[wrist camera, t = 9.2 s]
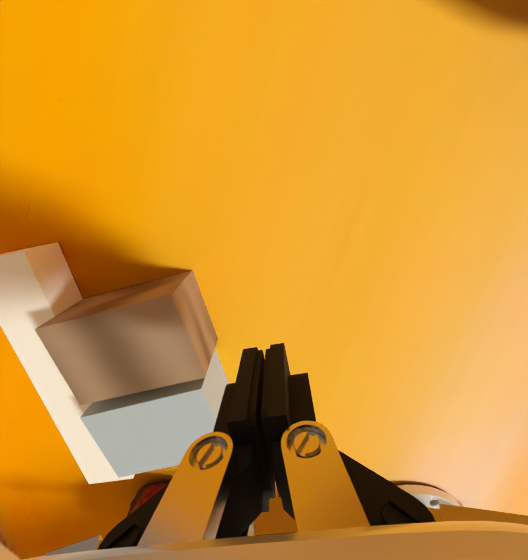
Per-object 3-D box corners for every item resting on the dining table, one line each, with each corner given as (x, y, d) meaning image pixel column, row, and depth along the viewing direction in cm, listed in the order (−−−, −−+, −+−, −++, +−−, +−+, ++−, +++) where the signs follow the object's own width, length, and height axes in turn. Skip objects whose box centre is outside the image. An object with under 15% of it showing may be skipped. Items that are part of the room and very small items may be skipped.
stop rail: (57, 242, 20) (23, 251, 17) (147, 447, 27) (133, 478, 24) (7, 252, 21) (-35, 263, 18) (107, 452, 27) (89, 484, 24)
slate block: (215, 346, 23) (201, 388, 18) (238, 403, 25) (230, 454, 20) (117, 371, 24) (80, 417, 19) (145, 424, 26) (118, 477, 21)
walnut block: (193, 269, 21) (171, 294, 16) (218, 337, 23) (205, 377, 18) (84, 297, 22) (34, 329, 17) (117, 361, 24) (79, 405, 19)
